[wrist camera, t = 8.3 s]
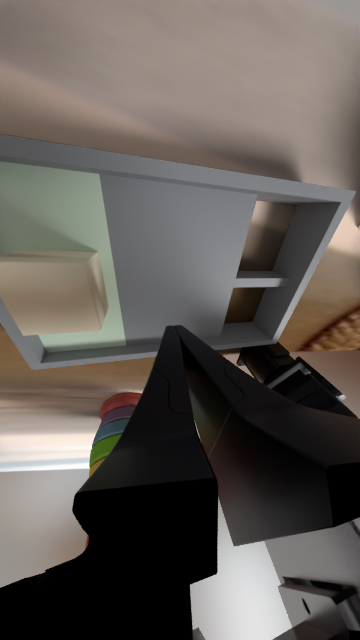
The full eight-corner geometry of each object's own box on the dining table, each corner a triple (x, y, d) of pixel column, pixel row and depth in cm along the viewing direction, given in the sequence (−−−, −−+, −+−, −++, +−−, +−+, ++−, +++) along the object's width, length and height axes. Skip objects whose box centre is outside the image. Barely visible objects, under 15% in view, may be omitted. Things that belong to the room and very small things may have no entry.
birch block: (108, 306, 15) (100, 330, 12) (49, 308, 14) (23, 335, 11) (98, 251, 13) (83, 263, 9) (24, 248, 11) (-22, 261, 8)
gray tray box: (256, 325, 25) (276, 343, 22) (52, 340, 19) (31, 370, 16) (308, 196, 17) (356, 191, 13) (-42, 148, 10) (-142, 111, 7)
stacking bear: (120, 426, 34) (106, 585, 19) (84, 409, 28) (24, 618, 13) (164, 405, 33) (184, 555, 18) (136, 383, 27) (133, 575, 13)
